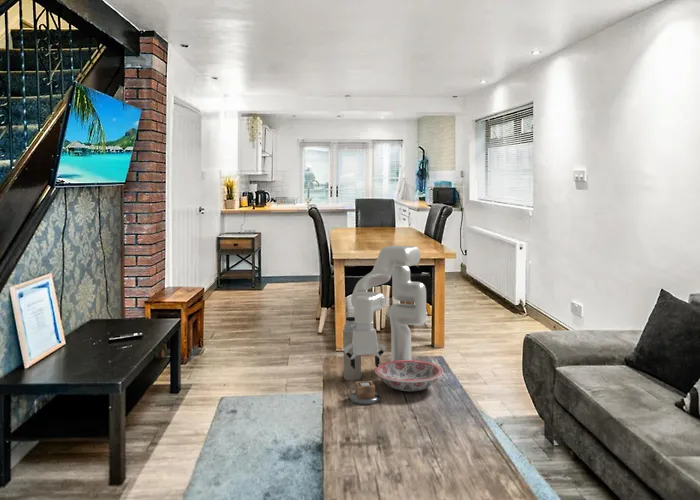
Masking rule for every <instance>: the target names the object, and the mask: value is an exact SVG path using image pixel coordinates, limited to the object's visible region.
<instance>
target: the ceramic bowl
mask: <svg viewBox="0 0 700 500" xmlns="http://www.w3.org/2000/svg"><path fill="white" fill-rule="evenodd" d="M374 369H375V370H374V372H375V374H376V375H377V376H378V377H379V378H380V379H381V380H382V381H383V382H384V383H385V384H386V386H388V387H390V388H392V389H393V390H397V391H402V392H418V391H419V392H420V391H423V390H425V389H428V388H429V387H431V386H432V385H433V384H434V383H435V382H436V381H437V380H438V378H440V377H442V376H443V374H444V370H443V369H442V368H441V367H440V365H438V364H435V363H432V362H427V361H424V360H423V361H422V360H414V359H411V360H398V361H392V360H390V361H386V362H384V363H383V362H382V363H381V364H378V367H376V366H375V368H374Z"/></svg>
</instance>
